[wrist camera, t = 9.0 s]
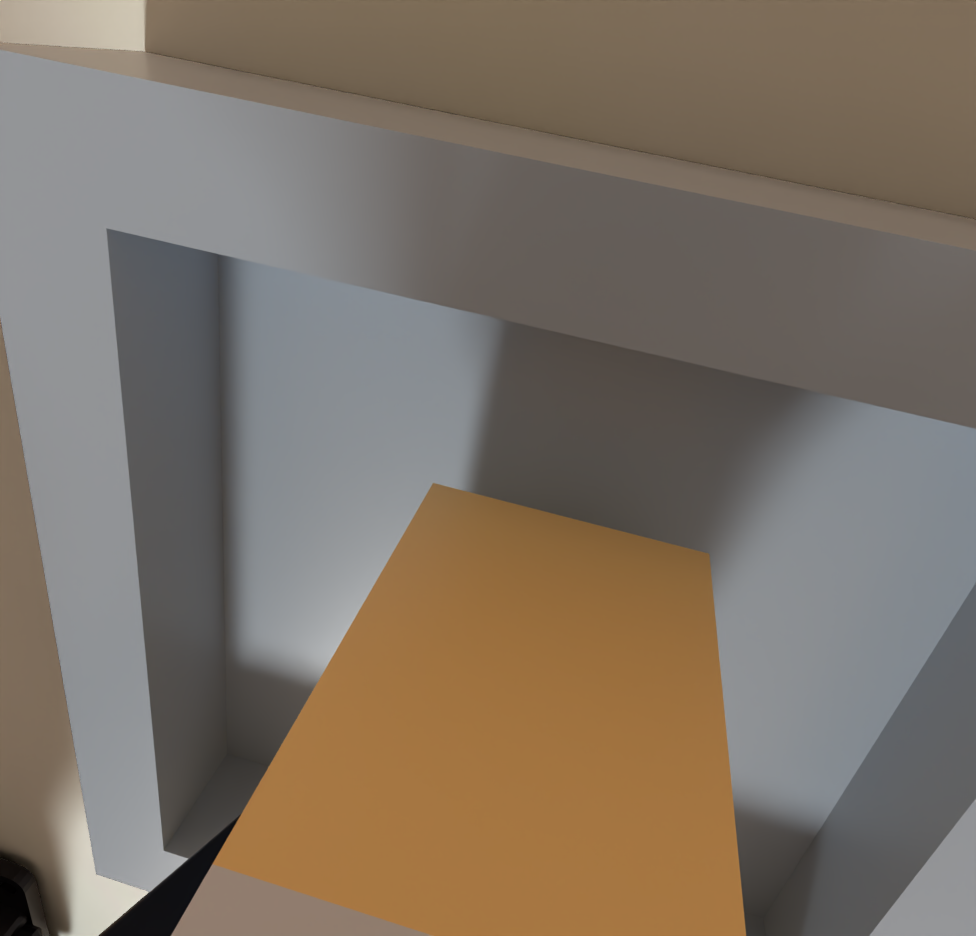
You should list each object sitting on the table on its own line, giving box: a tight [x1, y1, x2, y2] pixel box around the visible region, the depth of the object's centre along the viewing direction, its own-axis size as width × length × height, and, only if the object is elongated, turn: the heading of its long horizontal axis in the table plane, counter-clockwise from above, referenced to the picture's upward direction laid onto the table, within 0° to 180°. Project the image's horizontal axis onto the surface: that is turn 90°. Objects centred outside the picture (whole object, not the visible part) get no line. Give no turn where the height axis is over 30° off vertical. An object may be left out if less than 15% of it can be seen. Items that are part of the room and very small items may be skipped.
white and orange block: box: [171, 483, 746, 936], centre depth 8 cm, size 4×6×6 cm, turn 172°
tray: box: [0, 43, 976, 936], centre depth 11 cm, size 14×14×3 cm
